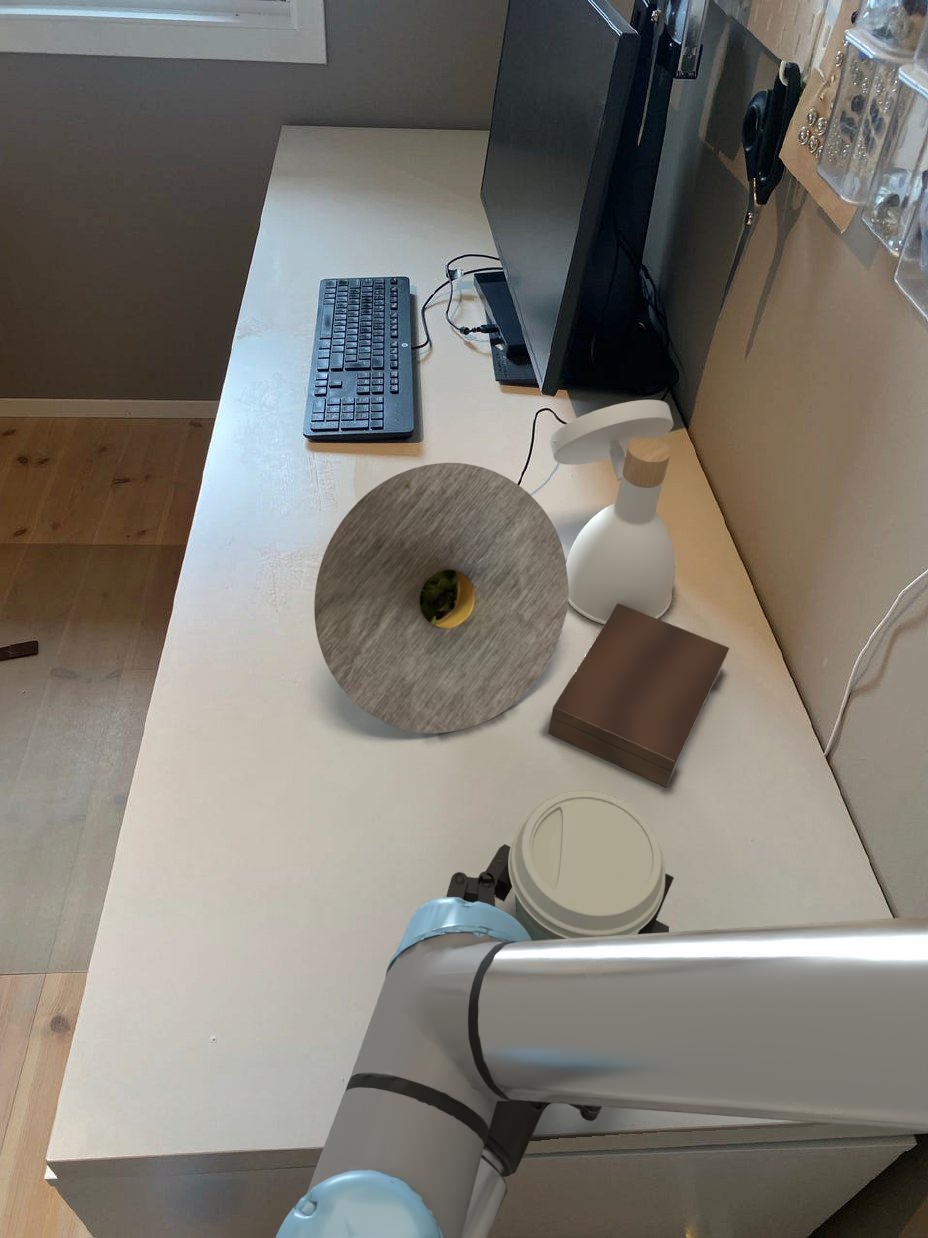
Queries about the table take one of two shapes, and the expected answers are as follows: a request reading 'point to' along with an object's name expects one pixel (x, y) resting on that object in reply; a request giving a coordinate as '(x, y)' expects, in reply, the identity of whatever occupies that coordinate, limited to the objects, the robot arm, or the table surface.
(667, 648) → the wooden trinket box
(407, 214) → the table surface
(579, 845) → the coffee cup
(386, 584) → the grey round piece
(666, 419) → the light fixture
